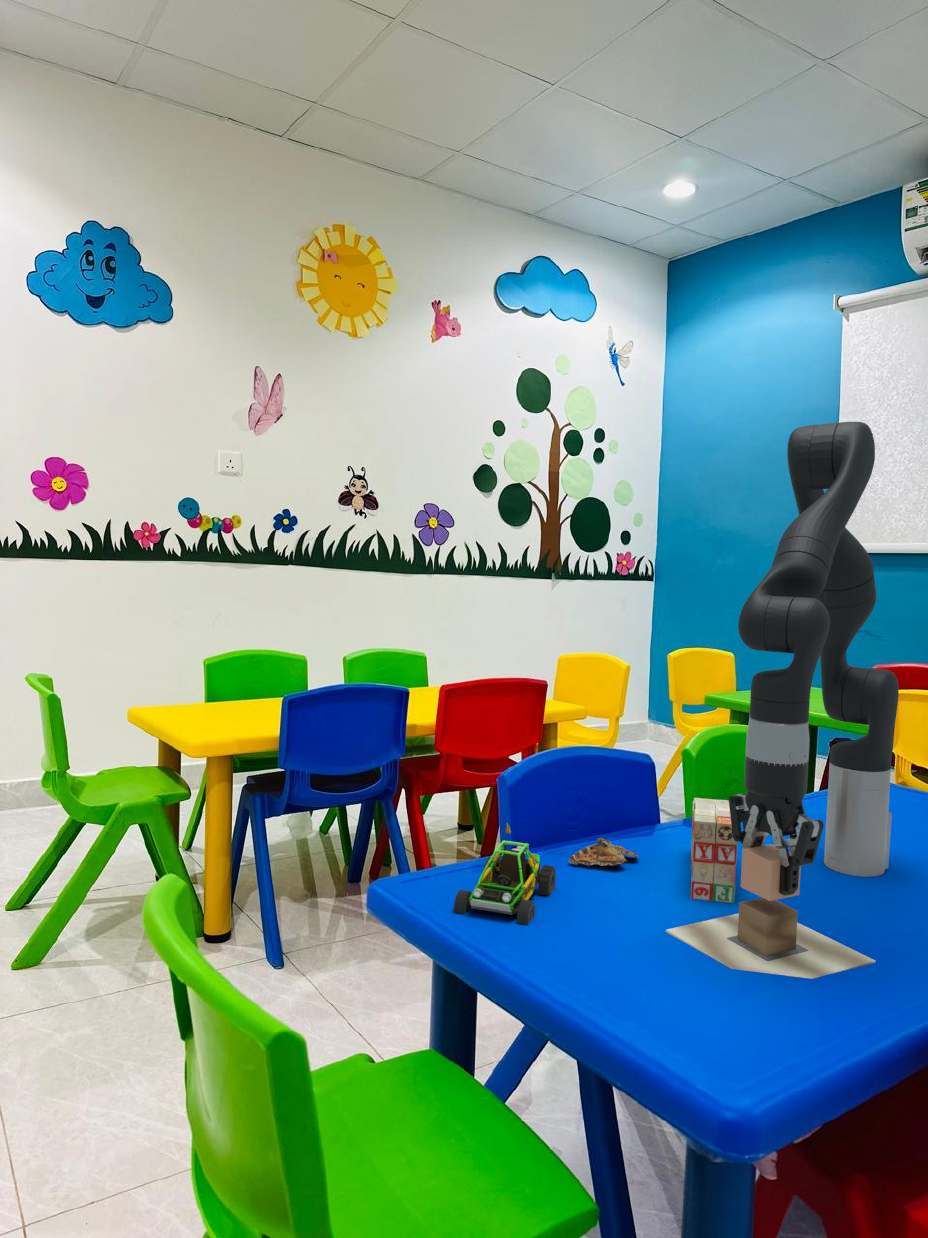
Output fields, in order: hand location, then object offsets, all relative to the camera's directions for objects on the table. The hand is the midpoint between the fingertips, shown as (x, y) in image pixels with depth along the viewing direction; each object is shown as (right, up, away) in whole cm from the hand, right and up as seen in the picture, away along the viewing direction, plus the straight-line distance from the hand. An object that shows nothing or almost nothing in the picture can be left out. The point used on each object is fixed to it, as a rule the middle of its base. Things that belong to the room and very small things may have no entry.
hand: (769, 885), depth 114 cm
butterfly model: (-15, -8, +30) cm, 35 cm away
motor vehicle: (-32, -7, +15) cm, 37 cm away
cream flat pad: (0, -9, +1) cm, 9 cm away
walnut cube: (0, -8, 0) cm, 8 cm away
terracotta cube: (0, -1, 0) cm, 1 cm away
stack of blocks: (0, -7, +27) cm, 28 cm away
